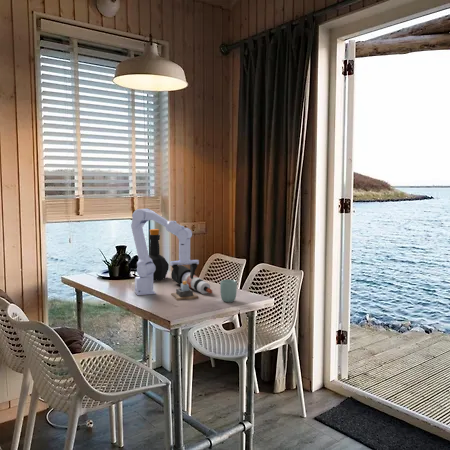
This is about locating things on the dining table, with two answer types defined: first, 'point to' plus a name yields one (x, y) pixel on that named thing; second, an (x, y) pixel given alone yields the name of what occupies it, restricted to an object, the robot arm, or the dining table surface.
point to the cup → (228, 290)
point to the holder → (184, 294)
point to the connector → (184, 286)
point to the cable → (191, 280)
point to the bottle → (157, 256)
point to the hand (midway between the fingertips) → (184, 278)
